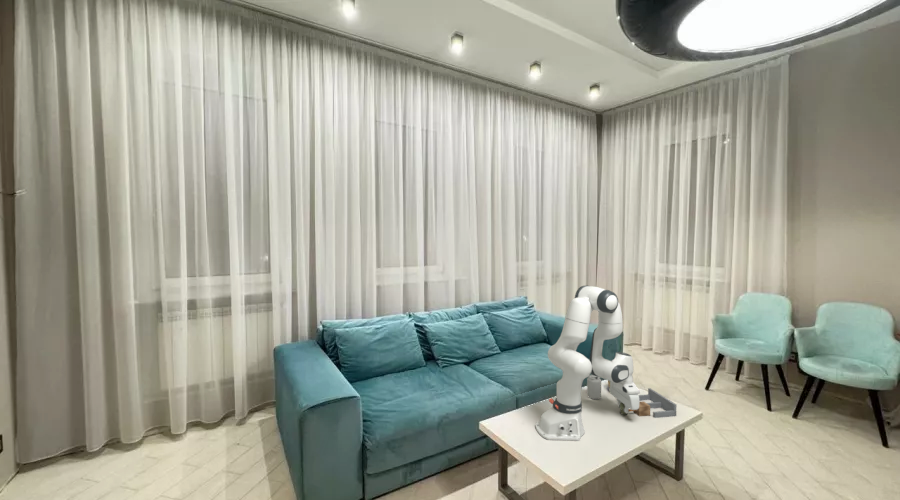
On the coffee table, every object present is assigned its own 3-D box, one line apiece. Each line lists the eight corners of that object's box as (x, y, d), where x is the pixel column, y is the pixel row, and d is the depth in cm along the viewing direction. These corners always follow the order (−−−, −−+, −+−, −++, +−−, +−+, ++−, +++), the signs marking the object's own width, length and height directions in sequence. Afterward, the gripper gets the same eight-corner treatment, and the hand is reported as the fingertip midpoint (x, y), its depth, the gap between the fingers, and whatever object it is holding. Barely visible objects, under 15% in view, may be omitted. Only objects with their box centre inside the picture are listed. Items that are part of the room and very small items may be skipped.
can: (602, 400, 200) (602, 379, 199) (588, 399, 201) (588, 378, 201) (599, 394, 207) (599, 374, 207) (586, 393, 209) (586, 373, 208)
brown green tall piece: (623, 417, 181) (623, 406, 181) (618, 412, 186) (617, 401, 186) (650, 415, 183) (650, 404, 182) (644, 410, 188) (644, 399, 187)
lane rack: (654, 417, 180) (654, 406, 180) (630, 400, 200) (630, 389, 200) (676, 416, 182) (676, 404, 182) (650, 398, 201) (650, 388, 201)
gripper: (606, 376, 193) (606, 401, 194) (630, 392, 173) (629, 420, 173) (617, 375, 194) (617, 400, 194) (642, 391, 174) (641, 419, 174)
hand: (623, 410), depth 184 cm, fingers closed on brown green tall piece, 3 cm apart
